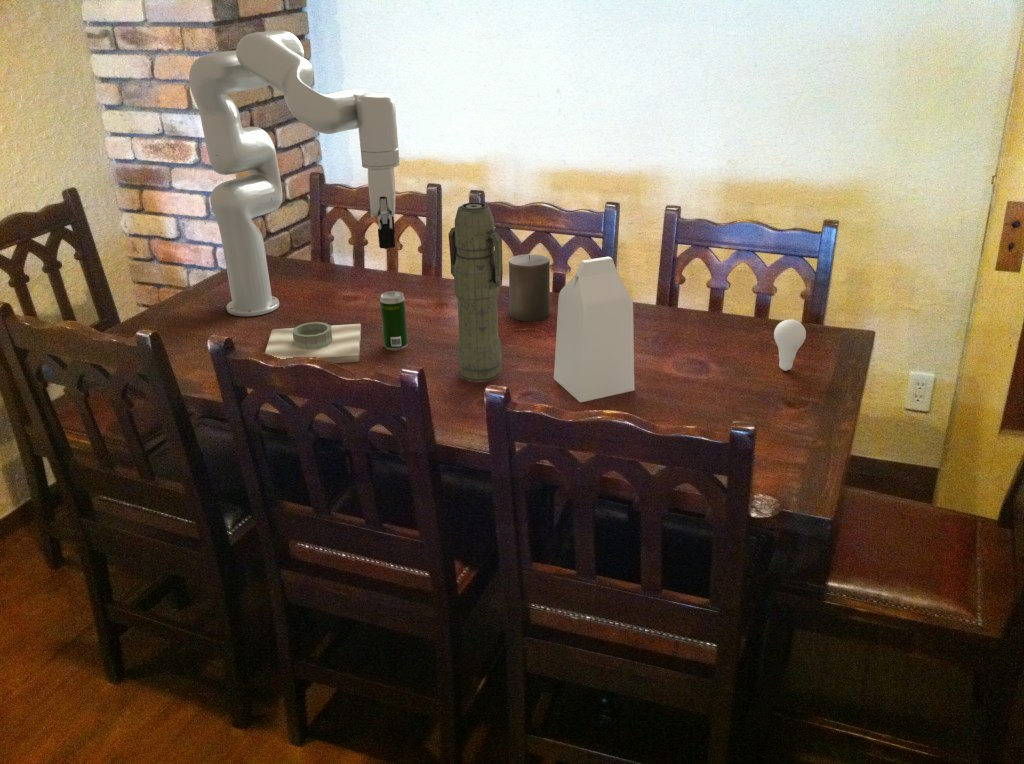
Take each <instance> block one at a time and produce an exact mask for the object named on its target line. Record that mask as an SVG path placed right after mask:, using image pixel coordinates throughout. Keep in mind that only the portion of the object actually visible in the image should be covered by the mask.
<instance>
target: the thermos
mask: <svg viewBox="0 0 1024 764" xmlns="http://www.w3.org/2000/svg"><path fill="white" fill-rule="evenodd" d="M456 210H457V211H456V214H455V217H454V222H453V223H454V227H451V228H450V230H449V232H448V244H449V247H448V248H449V256H450V257H449V258H450V260H449V261H450V274H451V275H452V277H453V285H454V295H455V298H457V318H458V337H459V338H458V340H457V343H456V351H457V365H458V366H459V367H458V369H459V370H458V374H459V377H460V376H461V377H462V378H463V379H462V378H461V377H460V378H461V379H462V380H464V379H466V380H471V381H484V382H483V383H486V382H485V381H487V382H491V381H490V380H492V381H494V380H495V379H494V378H496V377H498V376H499V375H500V376H501V374H500V373H502V370H501V364H502V343H501V340H500V338H499V323H498V322H499V320H498V317H499V316H498V314H499V313H498V296H499V293H500V287H501V286H502V285H503V274H504V273H503V239H502V238H501V236H500V234H499V232H496V229H495V219H494V215H493V213H492V211H491V208H490V205H487V204H485V203H482V202H467V203H464V204H462V205H460V206H459V207H458V208H457V209H456ZM500 376H499V377H500ZM499 377H498V378H499ZM493 379H494V380H493ZM496 379H497V378H496ZM466 380H465V381H466Z"/></svg>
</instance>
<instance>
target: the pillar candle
mask: <svg viewBox="0 0 1024 764" xmlns="http://www.w3.org/2000/svg"><path fill="white" fill-rule="evenodd" d="M550 266H551V265H550V258H549V257H548V256H545V255H542V254H537V253H536V254H535V253H534V254H533V253H528V254H527V253H526V254H518V255H514V256H512V257H510V258H508V279H509V281H508V282H509V284H508V291H509V292H508V296H509V297H508V298H509V300H508V301H509V316H510V317H511V318H513V319H514V320H519V321H522V322H539V321H541V320H546V319H547V318H549V316H550V314H551V308H550V307H551V305H550V304H551V301H550V300H551V299H550V298H551V297H550V295H551V294H550V293H551V291H550V290H551V286H550V285H551V284H550V282H551V281H550V277H551V274H550V268H551V267H550Z"/></svg>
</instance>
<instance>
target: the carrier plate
mask: <svg viewBox="0 0 1024 764" xmlns="http://www.w3.org/2000/svg"><path fill="white" fill-rule="evenodd" d="M361 336H362V325H361V323H352V324H350V323H349V324H348V323H347V324H335V325H334V324H333V325H330V324H328V323H327V322H321V321H315V322H314V321H313V322H312V321H311V322H305V323H302V324H299V325H296V326H295V327H291V328H290V327H288V328H287V327H286V328H275V329H274V328H273V329H272V330H271V332H270V335H269V338H268V341H267V345H266V348H265V351H264V354H265V353H266V354H269V355H272V356H274V357H277V358H280V359H286V358H293V357H316V358H320V359H324V360H328V361H331V362H334V363H333V364H341V363H342V364H343V363H357V362H359V361H360V351H361V349H360V348H361Z"/></svg>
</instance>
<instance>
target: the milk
mask: <svg viewBox="0 0 1024 764" xmlns="http://www.w3.org/2000/svg"><path fill="white" fill-rule="evenodd" d="M557 299H558V302H557V315H556V316H557V319H556V320H557V321H556V335H555V351H554V352H555V355H554V371H553V372H554V373H553V380H554V381H556V383H558V384H559V385H560V386H561V387H562V388H563V389H565V391H567V392H568V393H569V394H570V395H571V396H572V397H573V398H574V399H576V400H577V401H578V402H579V403H584V402H588V401H593V400H598V399H602V398H605V397H611V396H615V395H619V394H624V393H628V392H634V391H635V346H634V345H635V344H634V342H635V341H634V339H635V338H634V333H635V331H634V303H633V299H632V297H631V295H630V292H629V290H628V288H627V287H626V285H625V283H624V282H623V280H622V278H621V276H620V274H619V273H618V271H617V267H616V265H615V262H614V259H613V258H612V257H611V256H604V257H603V256H602V257H596V258H590V259H583V260H581V261H580V263H579V265H578V267H577V270H576V272H575V274H574V276H573V277H572V278H571V279H570V280H569V281H568V282H567V283H566V284H565V285H564V286H563V287H562V288H561V289H560V291H559V294H558V298H557Z"/></svg>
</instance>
